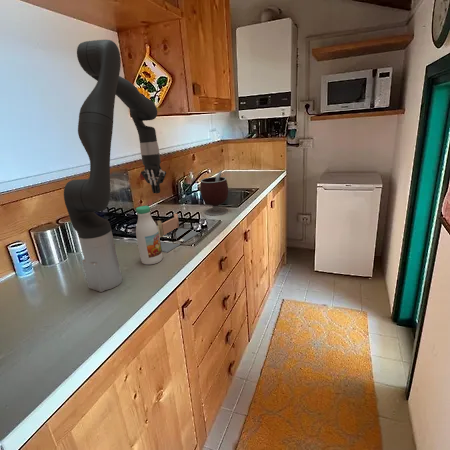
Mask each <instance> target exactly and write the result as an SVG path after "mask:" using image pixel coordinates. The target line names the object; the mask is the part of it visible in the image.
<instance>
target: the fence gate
mask: <svg viewBox="0 0 450 450" xmlns="http://www.w3.org/2000/svg"><path fill="white" fill-rule="evenodd" d="M178 214H179V213H173V217H172V218H170V219H167V220H166V221H164V222H161V223H162V230H163V235H165V234H167V233H169V232H171V231H173V230H174V229H176V228H180V221H179V215H178Z"/></svg>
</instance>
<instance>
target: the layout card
mask: <svg viewBox="0 0 450 450" xmlns="http://www.w3.org/2000/svg"><path fill="white" fill-rule="evenodd" d="M188 230H190V229H189V228H188V229H187V228H183V227H179V228H178V230H177V232H176V236H177V237H179V236H181V235H182V234H184V233H185V232H186V231H188ZM192 230H193V229H192ZM196 231H197V230H195V231H194V230H193V231H190V232H189V233H188V234H187V235H185V236H184V237H183V238H182V239H181V240H180V241H182V242H183V241H184V243H186V242H188V241H189V240H191V239H192V238H194V237H196V236H198V235H199V234H201V233H202V231H201V230H200V232H201V233H200V232H196ZM163 237H167V238H169V237H170V238H171V235H169V236H168V235H167V234H165V235H164V236H163ZM185 241H186V242H185ZM160 243H161V249H162V253H165V254H166V253H167V254H168V253H169V252H171V251H172V250H174V249H176V248H178V247H179V246H181V245H180V244H173V243H164V242H160Z"/></svg>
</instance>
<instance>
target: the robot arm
mask: <svg viewBox="0 0 450 450" xmlns="http://www.w3.org/2000/svg"><path fill="white" fill-rule="evenodd" d="M76 47H77V48H76V57H77V60H78V64H79V65H80V67H81V69H82V70H83V71H84V72H85V73H86V74H87V75H89V76H90V77H92V79H94V80H95V81H96V84H95V86H94V87H93V89H92V91H91V92H90V93H89V94H88V96H87V97H86V98H85V100H84V101H83V103H82V105H81V107H80V110H79V114H78V123H77V124H78V125H77V134H78V138H79V141H80V143H81V145H82V147H83V148H84V150H85V152H86V154H87V156H88V159H89V169H90V170H89V178H85V179H84V178H83V179H82V178H81V179H79V178H78V179H71V180H70V181H68V182H67V183H66V184H64V185H65V186H64V188H63V200H64V204H65V207H66V211H67V213H68V217H69V220H70V223H71V225H72V227H73V229H74V230H75V231H76V233H77V236H78V240H79V244H80V248H81V251H82V255H83V259H82V260H81V264H82V267H83V271H84V274H85V279H86V282H87V286H88V288H89V289H90V290H94V291H97V292H99V293H103V292H104V291H107V290H111V289H114V288H116V287H118V286H119V285H120V284H121V283H122V282H123V276H122V271H121V267H120V261H119V258H118V255H117V249H116V245H115V241H114V236H113V232H112V227H111V223H110V221H109V220H108V219H107V218H103V217H102V216H100V215H98V214H97V212H98V213H100V212H104V211H105V210H106V209H107V207H108V206H109V203H110V199H111V198H110V197H111V167H110V166H111V150H112V149H111V148H112V138H113V131H114V130H113V129H114V128H113V127H114V117H115V115H114V114H115V113H114V112H115V102H116V101H115V100H116V96H117V98H119V99H120V100H121V102H123V104H124V105H125V106H126V107H127V108H128V109H129V114H130V117H131V118H132V119H131V120H132V122H133V123H134V126H135V129H136V130H137V133H138V141H139V148H140V155H141V160H142V161H141V162H142V165H143V166H144V170H142V171H141V172H140V174H141V175H142V177H143V178H144V180H145V181H146V183H147V184H149V185H150V186H151V191H152V194H160V192H161V186H160V184H163V183H164V180H165V177H166V175H167V171H164V170H162V167H161V155H160V154H161V153H160V149H159V144H158V139H157V132H156V128H155V127H153V126H149V125H146V124H145V123H144V122H145V121H154V120H155V119H156V118H157V116H158V109H157V106H156V104H155V103H154V102H153V101H152V100H151V99H150V98H148V97H147V96H145V95H144V94H142V93H141V92H140V91H139V89H137V87H136V86H135V85H134V84H133V83H132V82H131V81H129V80H128V79H126V78H124V77H122V76H120V72H121V65H122V64H121V63H122V62H121V61H122V60H121V52H120V49H119V47H118V45H117V43H116V42H115V41H113V40H110V39H95V40H87V41H83V42H80V43H79V44H78V46H76Z"/></svg>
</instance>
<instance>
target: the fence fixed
mask: <svg viewBox="0 0 450 450" xmlns="http://www.w3.org/2000/svg"><path fill="white" fill-rule="evenodd" d="M156 222H157V223H156V224H157V228H158V232H159V237H163V230H162V223H163V222H162V220H157V221H156Z"/></svg>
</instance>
